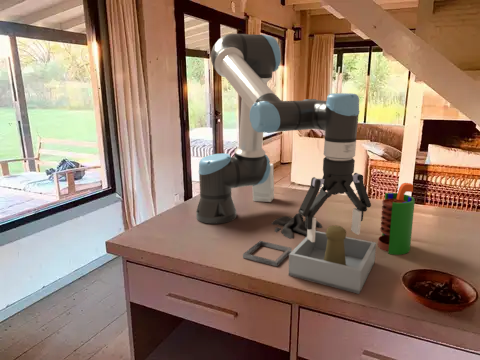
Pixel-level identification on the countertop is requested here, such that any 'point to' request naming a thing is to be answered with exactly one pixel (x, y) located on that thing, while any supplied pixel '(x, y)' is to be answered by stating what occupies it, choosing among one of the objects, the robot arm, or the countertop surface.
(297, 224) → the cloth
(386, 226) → the motor
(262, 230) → the countertop surface
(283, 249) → the collar
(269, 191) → the skincare box
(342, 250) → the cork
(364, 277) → the bin
